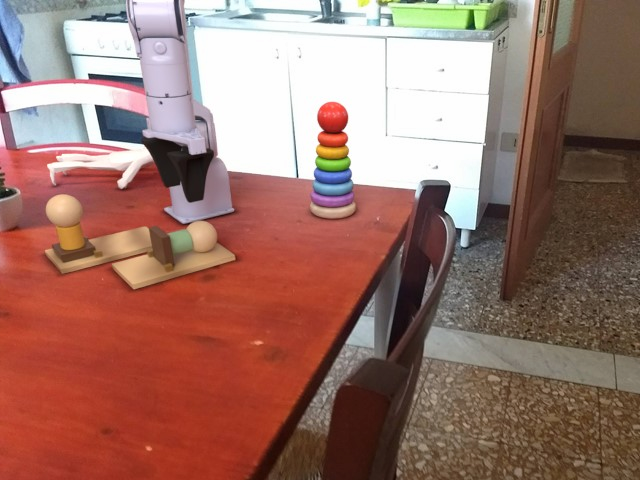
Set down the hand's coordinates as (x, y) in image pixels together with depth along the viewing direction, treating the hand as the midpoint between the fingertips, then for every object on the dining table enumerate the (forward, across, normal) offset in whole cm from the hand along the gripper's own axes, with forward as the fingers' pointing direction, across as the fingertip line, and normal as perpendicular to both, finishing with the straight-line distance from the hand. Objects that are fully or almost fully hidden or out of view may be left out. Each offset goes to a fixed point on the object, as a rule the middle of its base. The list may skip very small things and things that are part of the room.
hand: (183, 193), depth 89 cm
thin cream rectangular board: (+10, +1, -3) cm, 10 cm away
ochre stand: (+10, -10, -9) cm, 17 cm away
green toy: (+9, +1, -1) cm, 9 cm away
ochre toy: (+4, -10, -11) cm, 15 cm away
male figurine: (+10, -41, +5) cm, 43 cm away
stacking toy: (+10, -2, +27) cm, 29 cm away
